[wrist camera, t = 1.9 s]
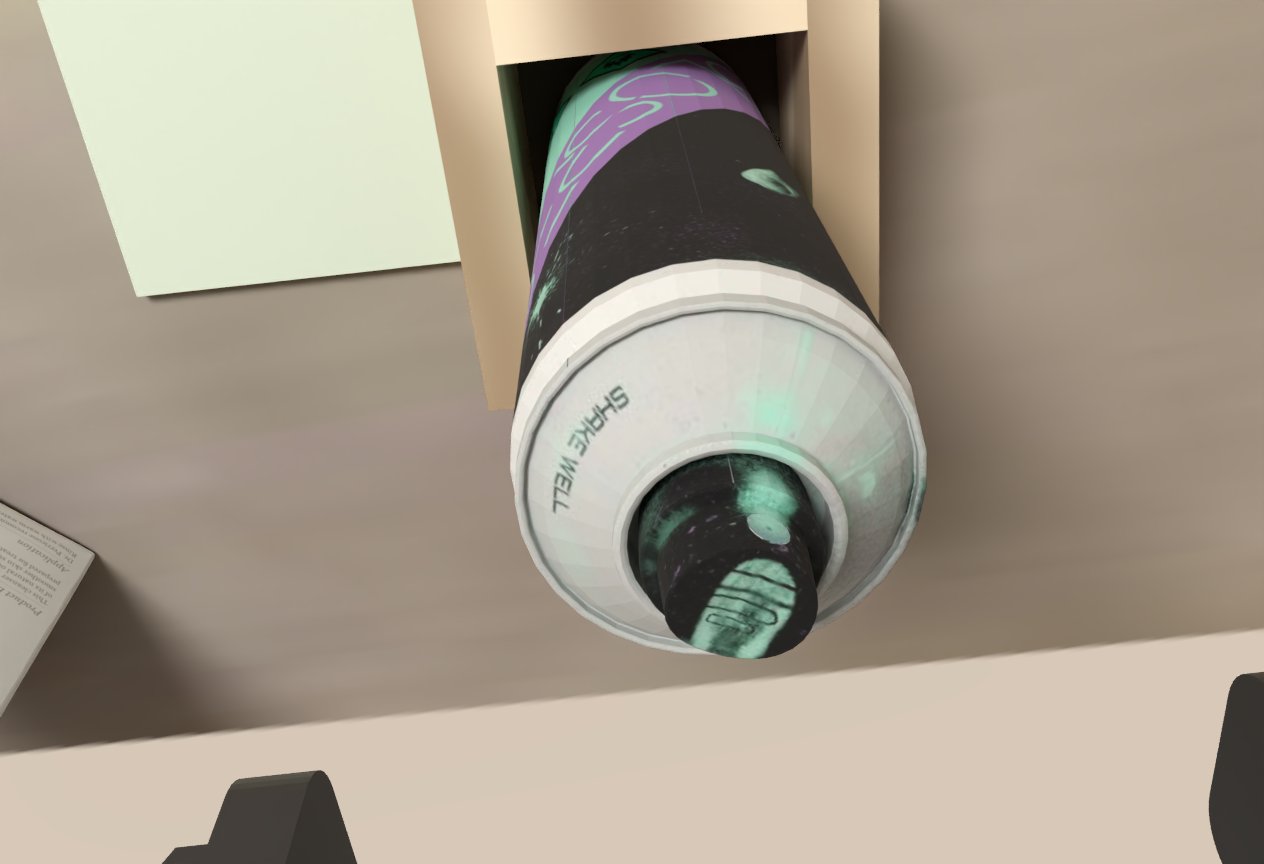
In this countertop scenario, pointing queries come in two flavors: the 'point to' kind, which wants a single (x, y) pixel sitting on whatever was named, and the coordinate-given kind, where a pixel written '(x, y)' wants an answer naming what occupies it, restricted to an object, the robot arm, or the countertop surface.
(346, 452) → the countertop surface
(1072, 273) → the countertop surface
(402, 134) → the mat
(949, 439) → the countertop surface
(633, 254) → the spray can
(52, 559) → the skincare box
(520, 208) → the wooden box holder
